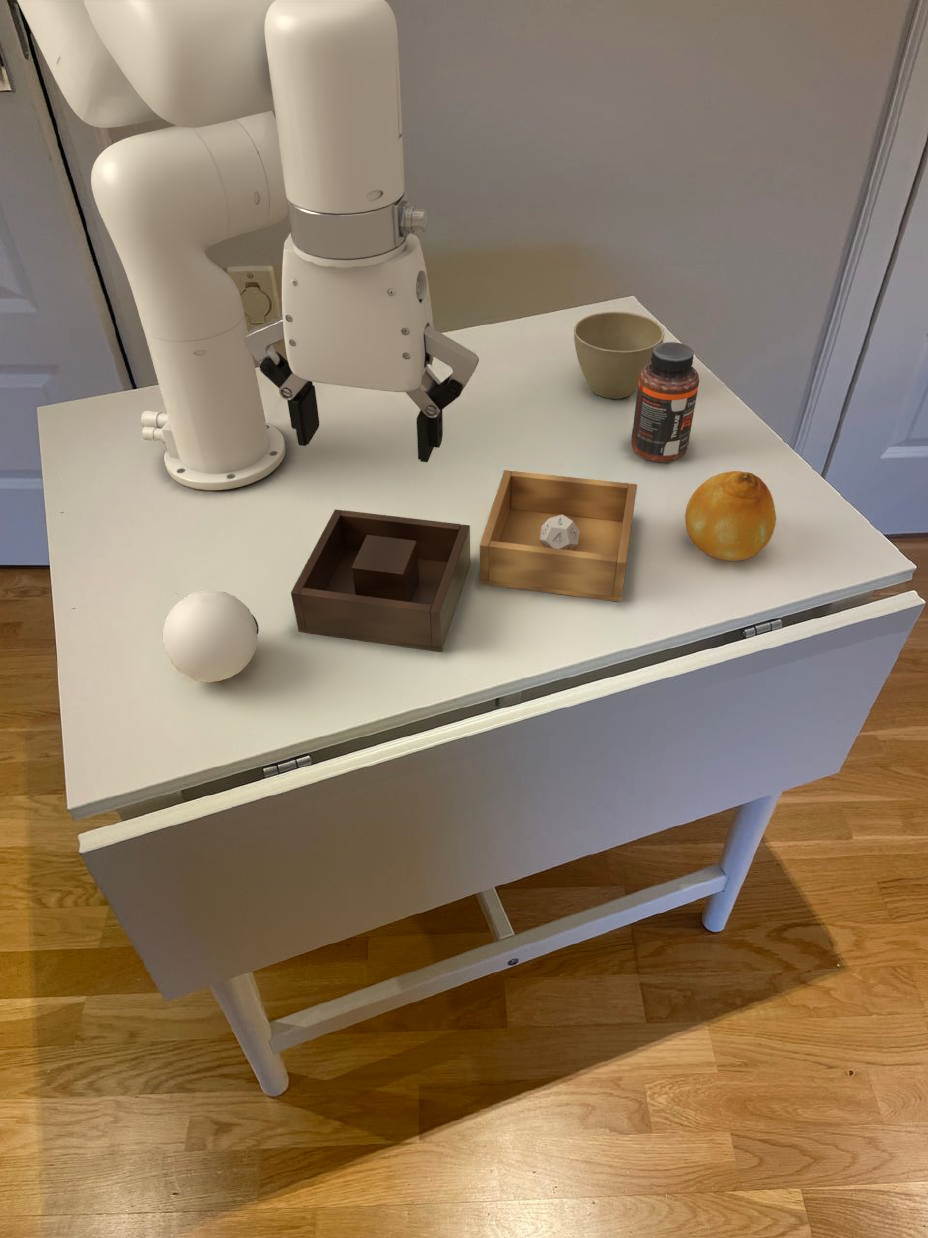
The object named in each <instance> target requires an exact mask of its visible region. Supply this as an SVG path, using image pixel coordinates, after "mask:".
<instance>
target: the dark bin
mask: <svg viewBox="0 0 928 1238" xmlns="http://www.w3.org/2000/svg"><path fill="white" fill-rule="evenodd" d="M367 535H373V536H381V537H389V538H397V539H405V540H413V541H417V553H418V567H419V582H418V585H417V587H416V590H415V593H414V595H413V598H412V600H411V602H405V601H398V600H390V599H383V598H375V597H368V596H360V595H355V588H354V581H353V574H352V565H353V563H354V561H355V559H356V557H357V555H358V553H359V551H360V549H361V546H362V544H363V542H364V540H365V538H366V536H367ZM471 564H472V559H471V525H470V524H464V523H462V524H461V523H455V522H445V521H437V520H430V519H421V518H412V517H405V516H395V515H386V514H378V513H371V512H361V511H354V510H345V509H344V510H342V509H334V511H333V512H332V514H331V516H330V517H329V519H328V522H327V523H326V525H325V527H324V529H323V531H322V533H321V535H320V537H319V538H318V541H317V542H316V544H315V546H314V548H313V550H312V552H311V553H310V555H309V558H308V560H307V561H306V563H305V565H304V567H303V569H302V570H301V573H300V575H299V576H298V578H297V580H296V581H295V584H294V586H293V588H292V590H290V591H291V592H290V594H291V595H290V597H291V600H292V604H293V605H292V606H293V610H294V615H295V619H296V620H295V621H296V626H297V630H298V631H297V632H299V633H307V634H312V635H321V636H328V637H335V638H340V639H341V638H343V639H349V640H355V641H363V642H369V643H376V644H381V645H383V644H384V645H390V646H398V647H403V648H410V649H419V650H425V651H431V652H439V653H442V652H443V649H444V646H445V643H446V640H447V637H448V635H449V631H450V628H451V625H452V622H453V619H454V616H455V612H456V610H457V607H458V604H459V602H460V601H459V600H460V597H461V594H462V591H463V589H464V585H465V583H466V579H467V576H468V574H469V570H470V567H471Z"/></svg>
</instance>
